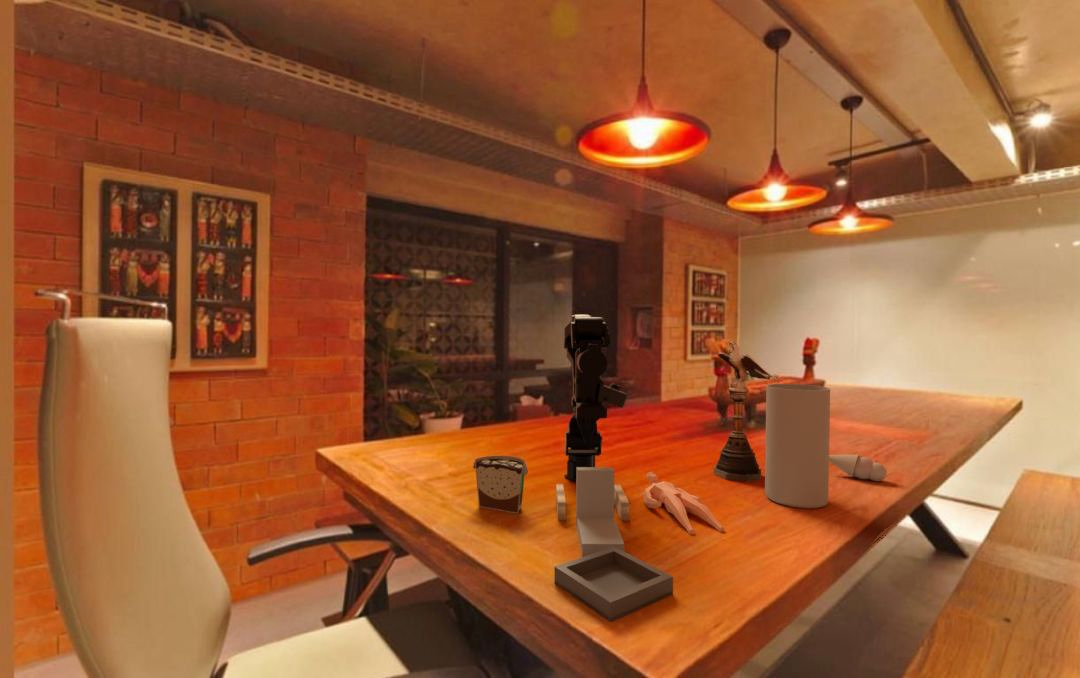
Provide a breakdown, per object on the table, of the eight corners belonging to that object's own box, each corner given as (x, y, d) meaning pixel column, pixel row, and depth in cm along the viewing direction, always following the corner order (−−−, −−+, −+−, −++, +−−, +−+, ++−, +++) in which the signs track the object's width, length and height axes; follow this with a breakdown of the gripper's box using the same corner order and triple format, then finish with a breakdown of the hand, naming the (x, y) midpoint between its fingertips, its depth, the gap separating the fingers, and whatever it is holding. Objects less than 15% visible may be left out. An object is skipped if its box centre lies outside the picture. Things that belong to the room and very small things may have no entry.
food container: (537, 505, 108) (538, 458, 107) (524, 515, 102) (525, 465, 102) (487, 497, 113) (487, 452, 112) (472, 505, 107) (472, 458, 107)
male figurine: (681, 519, 92) (627, 470, 116) (680, 545, 92) (627, 491, 117) (734, 514, 94) (670, 467, 119) (732, 540, 95) (669, 488, 119)
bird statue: (749, 463, 142) (750, 339, 141) (786, 476, 129) (788, 340, 129) (700, 469, 136) (701, 339, 135) (734, 483, 124) (736, 340, 123)
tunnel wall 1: (555, 499, 111) (556, 483, 111) (562, 499, 111) (562, 483, 111) (557, 520, 99) (558, 502, 99) (565, 520, 99) (565, 502, 99)
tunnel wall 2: (612, 499, 111) (612, 484, 111) (619, 499, 111) (619, 484, 111) (621, 520, 99) (621, 502, 99) (629, 520, 99) (629, 502, 99)
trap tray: (614, 561, 82) (614, 546, 81) (672, 594, 72) (673, 576, 72) (554, 583, 75) (554, 566, 75) (610, 621, 65) (610, 602, 65)
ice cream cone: (816, 470, 135) (883, 491, 126) (815, 459, 131) (884, 480, 121) (823, 450, 137) (889, 469, 128) (822, 439, 133) (890, 458, 124)
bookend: (576, 523, 98) (576, 467, 97) (612, 524, 98) (612, 467, 97) (582, 555, 84) (582, 489, 84) (624, 556, 84) (624, 490, 84)
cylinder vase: (834, 499, 112) (836, 387, 112) (819, 514, 103) (821, 392, 103) (775, 487, 121) (777, 382, 120) (756, 499, 112) (757, 387, 111)
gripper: (632, 377, 102) (631, 454, 103) (618, 370, 121) (617, 435, 121) (577, 377, 102) (576, 454, 103) (571, 370, 121) (571, 435, 121)
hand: (587, 444), depth 112 cm, fingers closed
